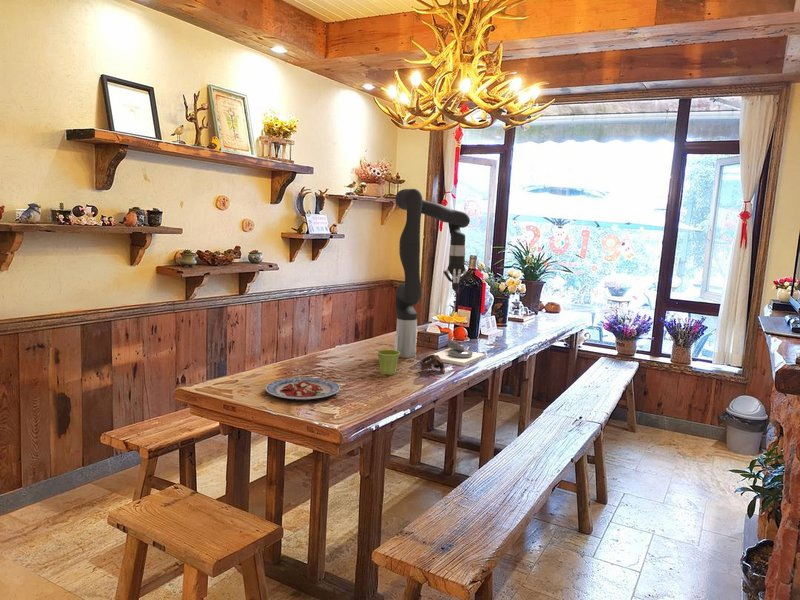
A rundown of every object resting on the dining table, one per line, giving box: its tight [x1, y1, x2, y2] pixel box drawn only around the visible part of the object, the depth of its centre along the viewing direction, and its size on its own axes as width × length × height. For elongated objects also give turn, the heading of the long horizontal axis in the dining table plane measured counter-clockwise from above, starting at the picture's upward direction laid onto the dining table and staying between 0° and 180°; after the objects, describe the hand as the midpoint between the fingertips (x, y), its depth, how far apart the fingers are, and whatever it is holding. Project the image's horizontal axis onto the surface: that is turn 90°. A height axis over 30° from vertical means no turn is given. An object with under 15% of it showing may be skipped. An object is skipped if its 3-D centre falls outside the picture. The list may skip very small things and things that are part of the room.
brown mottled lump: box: [420, 354, 446, 375], centre depth 242 cm, size 12×10×8 cm
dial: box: [447, 339, 474, 358], centre depth 270 cm, size 18×11×4 cm, turn 19°
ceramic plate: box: [264, 376, 341, 401], centre depth 206 cm, size 26×26×3 cm
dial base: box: [427, 347, 486, 367], centre depth 267 cm, size 22×18×4 cm
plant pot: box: [376, 349, 400, 376], centre depth 236 cm, size 9×9×9 cm
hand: (455, 290), depth 282 cm, fingers closed
